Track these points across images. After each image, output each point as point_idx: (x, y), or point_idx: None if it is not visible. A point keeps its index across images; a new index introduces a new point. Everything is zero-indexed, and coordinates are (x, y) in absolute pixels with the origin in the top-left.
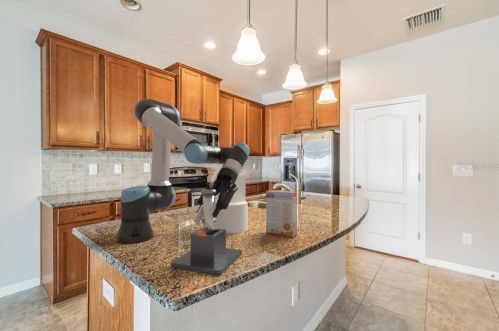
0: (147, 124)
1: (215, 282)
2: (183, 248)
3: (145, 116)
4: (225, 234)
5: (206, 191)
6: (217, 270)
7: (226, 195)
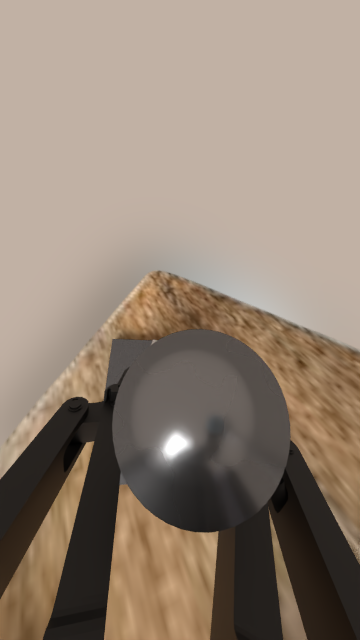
0: None
1: (115, 318)
2: None
3: None
4: None
5: (183, 332)
6: (119, 339)
7: (16, 496)
